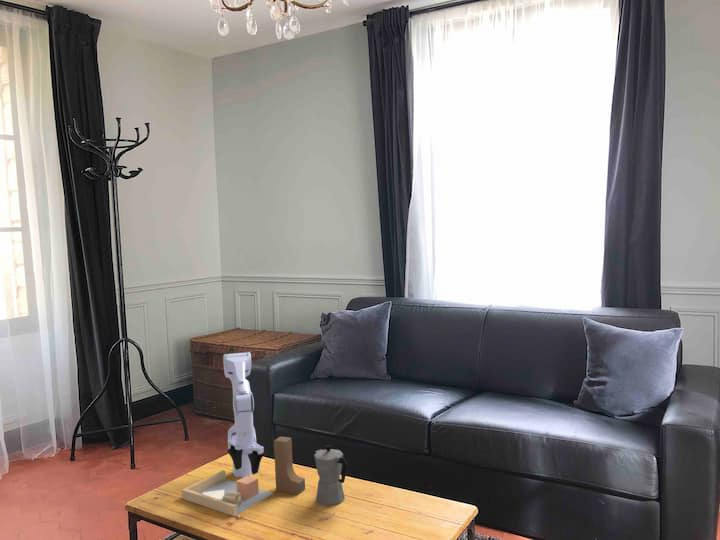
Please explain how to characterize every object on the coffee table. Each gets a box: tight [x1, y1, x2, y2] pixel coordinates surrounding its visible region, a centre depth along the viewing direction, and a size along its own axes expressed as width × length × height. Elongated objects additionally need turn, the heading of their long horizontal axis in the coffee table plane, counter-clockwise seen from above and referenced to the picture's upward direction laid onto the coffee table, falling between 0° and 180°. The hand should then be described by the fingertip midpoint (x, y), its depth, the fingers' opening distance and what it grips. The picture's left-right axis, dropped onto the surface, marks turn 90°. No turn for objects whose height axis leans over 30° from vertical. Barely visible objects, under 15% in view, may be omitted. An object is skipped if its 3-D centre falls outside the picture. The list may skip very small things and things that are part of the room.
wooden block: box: [273, 435, 306, 495], centre depth 198 cm, size 9×4×18 cm, turn 66°
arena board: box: [181, 469, 275, 517], centre depth 195 cm, size 18×24×4 cm
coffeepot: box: [313, 444, 349, 507], centre depth 191 cm, size 15×9×18 cm, turn 43°
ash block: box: [223, 491, 241, 508], centre depth 187 cm, size 4×4×4 cm
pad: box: [203, 490, 224, 500], centre depth 196 cm, size 7×7×1 cm
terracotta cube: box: [235, 475, 260, 499], centre depth 196 cm, size 5×5×5 cm
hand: (246, 471), depth 195 cm, fingers open, 7 cm apart
